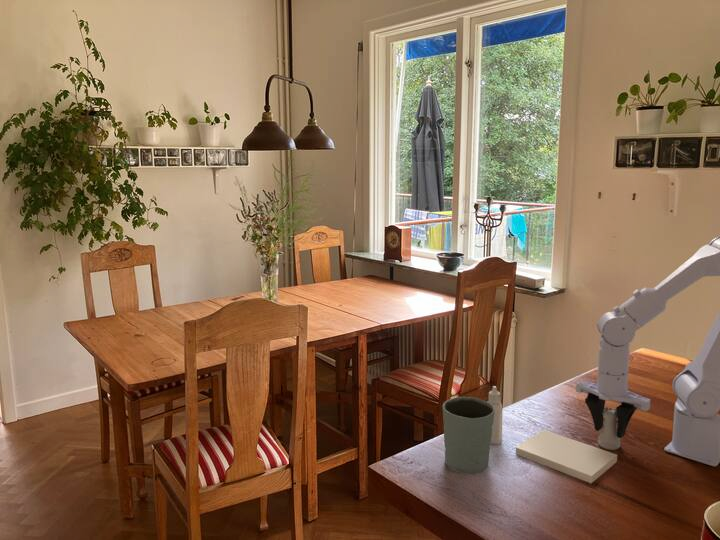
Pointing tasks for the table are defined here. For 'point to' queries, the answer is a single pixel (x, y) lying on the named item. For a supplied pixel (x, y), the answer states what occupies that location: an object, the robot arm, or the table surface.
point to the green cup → (467, 433)
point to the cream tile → (567, 455)
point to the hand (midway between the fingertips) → (609, 432)
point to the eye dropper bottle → (496, 416)
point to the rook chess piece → (609, 430)
